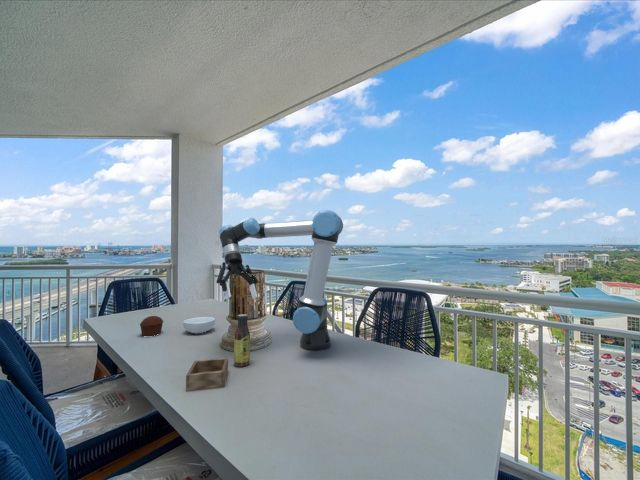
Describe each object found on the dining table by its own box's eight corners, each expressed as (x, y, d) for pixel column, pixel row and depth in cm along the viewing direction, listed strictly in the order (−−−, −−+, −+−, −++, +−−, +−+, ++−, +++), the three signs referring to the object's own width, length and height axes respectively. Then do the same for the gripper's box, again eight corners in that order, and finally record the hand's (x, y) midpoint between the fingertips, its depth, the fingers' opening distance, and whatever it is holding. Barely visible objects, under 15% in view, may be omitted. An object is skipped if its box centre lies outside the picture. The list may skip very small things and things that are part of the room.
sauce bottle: (245, 368, 111) (245, 317, 112) (230, 367, 112) (231, 316, 113) (252, 361, 117) (252, 313, 118) (238, 360, 118) (239, 313, 119)
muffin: (155, 338, 151) (155, 319, 151) (134, 338, 151) (135, 319, 151) (167, 331, 163) (167, 314, 163) (148, 331, 163) (148, 314, 163)
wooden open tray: (227, 371, 108) (227, 357, 108) (224, 387, 96) (224, 371, 96) (194, 374, 105) (194, 360, 106) (185, 391, 93) (186, 375, 93)
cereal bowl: (221, 330, 164) (221, 318, 164) (195, 338, 150) (195, 324, 150) (203, 326, 173) (203, 315, 173) (176, 333, 159) (177, 320, 159)
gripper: (249, 262, 142) (259, 301, 132) (203, 257, 123) (211, 302, 113) (258, 254, 138) (269, 294, 129) (212, 248, 119) (221, 294, 110)
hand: (242, 298), depth 121 cm, fingers open, 13 cm apart
